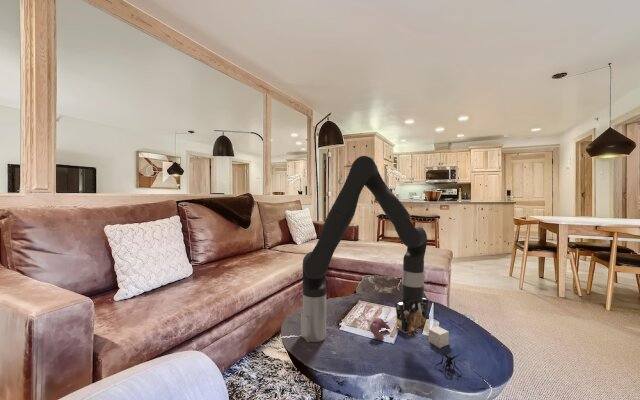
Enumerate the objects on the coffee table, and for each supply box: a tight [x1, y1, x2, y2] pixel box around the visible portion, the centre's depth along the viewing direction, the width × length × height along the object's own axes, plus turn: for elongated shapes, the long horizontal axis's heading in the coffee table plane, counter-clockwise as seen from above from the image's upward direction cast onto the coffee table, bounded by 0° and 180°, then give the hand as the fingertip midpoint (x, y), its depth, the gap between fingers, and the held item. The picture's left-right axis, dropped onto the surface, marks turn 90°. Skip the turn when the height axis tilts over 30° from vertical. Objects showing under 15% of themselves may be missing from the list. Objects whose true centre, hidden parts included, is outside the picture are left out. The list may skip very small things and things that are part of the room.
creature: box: [434, 351, 462, 378], centre depth 93 cm, size 8×5×8 cm
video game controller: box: [369, 317, 391, 342], centre depth 116 cm, size 10×5×7 cm, turn 150°
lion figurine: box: [405, 311, 427, 336], centre depth 105 cm, size 15×5×9 cm, turn 9°
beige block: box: [428, 325, 450, 349], centre depth 110 cm, size 5×5×5 cm
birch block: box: [396, 318, 414, 334], centre depth 120 cm, size 5×5×5 cm
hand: (411, 329), depth 104 cm, fingers closed on lion figurine, 5 cm apart
